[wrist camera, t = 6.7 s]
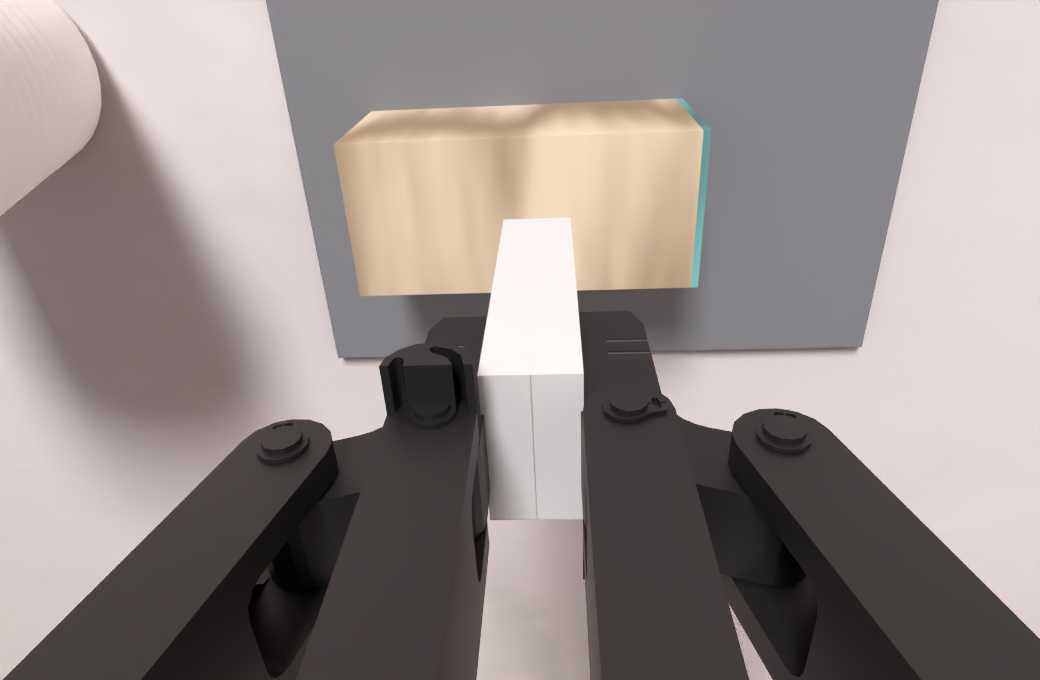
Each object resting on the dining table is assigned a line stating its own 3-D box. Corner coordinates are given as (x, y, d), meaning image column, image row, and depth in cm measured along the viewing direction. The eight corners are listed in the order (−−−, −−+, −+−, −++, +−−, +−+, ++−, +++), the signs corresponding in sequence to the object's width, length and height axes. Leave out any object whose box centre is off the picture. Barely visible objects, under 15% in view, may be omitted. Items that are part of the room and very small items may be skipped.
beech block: (674, 232, 24) (390, 241, 25) (682, 98, 22) (371, 111, 22) (697, 287, 20) (360, 296, 21) (711, 129, 18) (333, 144, 19)
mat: (340, 352, 27) (338, 357, 27) (226, -222, 19) (220, -225, 18) (857, 341, 26) (861, 346, 26) (992, -275, 18) (1000, -280, 17)
